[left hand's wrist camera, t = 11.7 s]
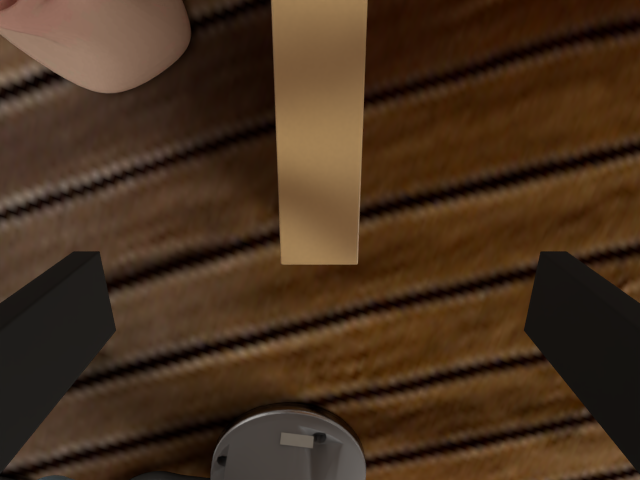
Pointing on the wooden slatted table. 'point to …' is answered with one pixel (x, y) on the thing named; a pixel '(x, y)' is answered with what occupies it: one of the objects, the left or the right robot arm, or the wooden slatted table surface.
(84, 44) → the anatomical model
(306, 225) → the bar
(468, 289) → the wooden slatted table surface
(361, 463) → the left robot arm
